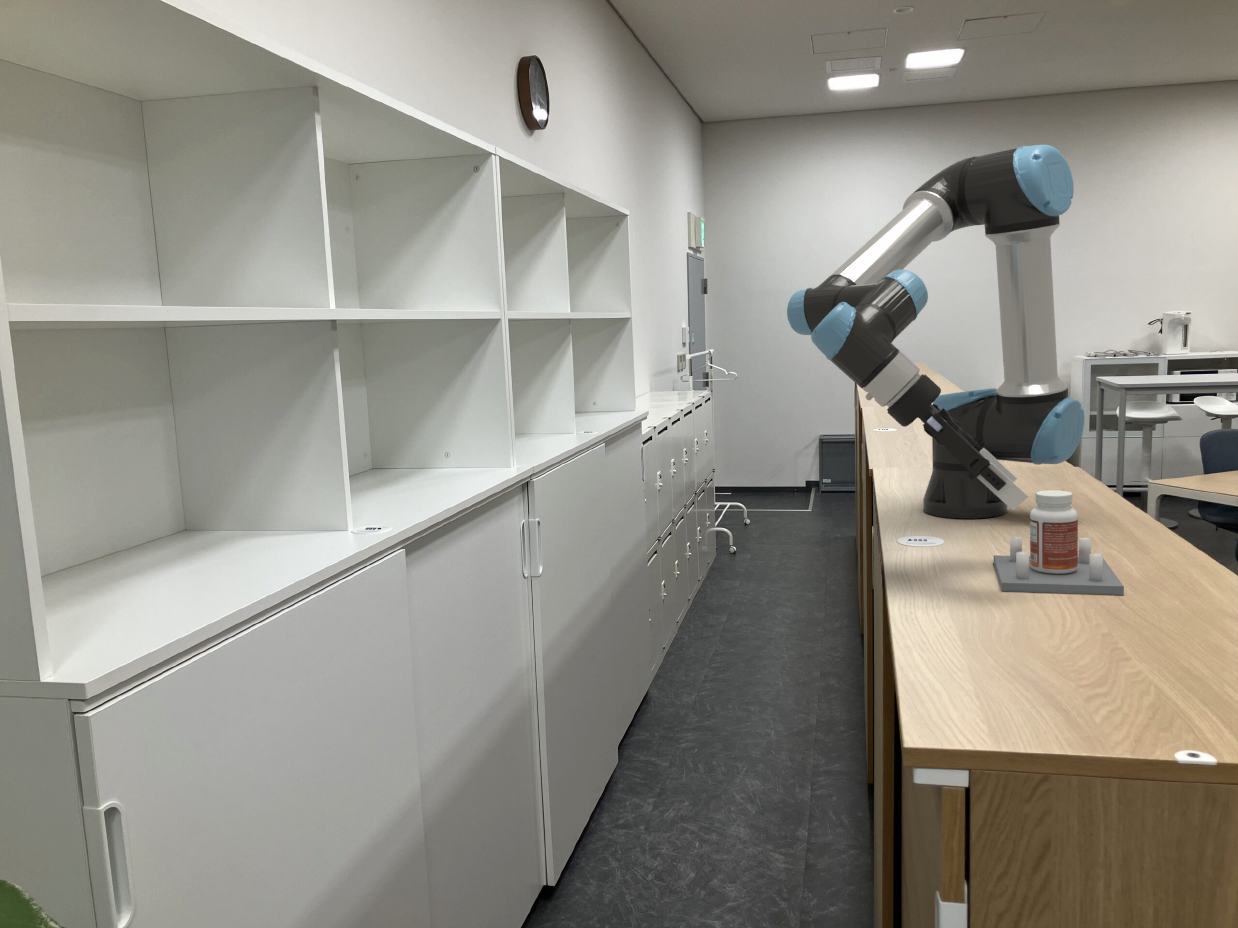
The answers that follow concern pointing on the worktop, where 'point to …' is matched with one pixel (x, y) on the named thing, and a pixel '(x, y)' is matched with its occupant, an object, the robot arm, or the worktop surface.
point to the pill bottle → (1054, 533)
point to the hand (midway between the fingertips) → (1015, 493)
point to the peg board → (1084, 580)
